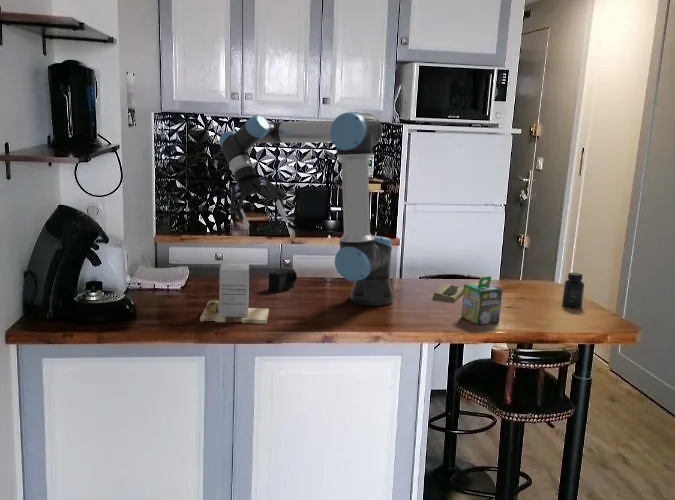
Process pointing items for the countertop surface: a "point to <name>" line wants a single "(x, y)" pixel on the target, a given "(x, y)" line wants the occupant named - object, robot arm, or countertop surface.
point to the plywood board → (253, 317)
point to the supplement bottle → (573, 291)
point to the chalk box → (481, 302)
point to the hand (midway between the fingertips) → (266, 222)
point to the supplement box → (234, 290)
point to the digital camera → (282, 280)
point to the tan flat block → (448, 293)
